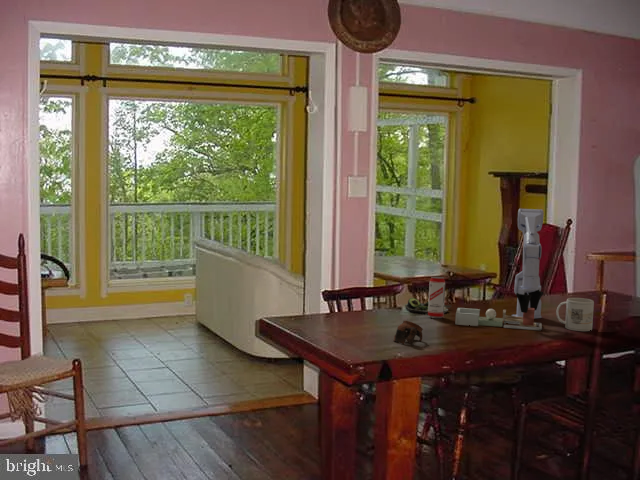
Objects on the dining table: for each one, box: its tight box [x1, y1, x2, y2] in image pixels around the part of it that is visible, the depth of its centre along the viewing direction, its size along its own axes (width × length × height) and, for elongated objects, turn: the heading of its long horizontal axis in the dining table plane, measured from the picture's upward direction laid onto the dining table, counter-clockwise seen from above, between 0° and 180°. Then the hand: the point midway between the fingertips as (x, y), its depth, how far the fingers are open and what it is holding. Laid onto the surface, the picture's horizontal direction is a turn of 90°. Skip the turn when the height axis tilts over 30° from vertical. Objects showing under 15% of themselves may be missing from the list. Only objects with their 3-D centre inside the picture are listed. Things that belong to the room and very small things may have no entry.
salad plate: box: [405, 297, 452, 315], centre depth 322 cm, size 19×18×5 cm
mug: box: [555, 297, 595, 332], centre depth 293 cm, size 10×12×11 cm
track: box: [478, 316, 543, 331], centre depth 295 cm, size 24×9×2 cm, turn 76°
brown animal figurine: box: [393, 320, 424, 345], centre depth 263 cm, size 12×10×8 cm
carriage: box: [502, 308, 537, 327], centre depth 294 cm, size 12×6×7 cm, turn 76°
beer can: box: [427, 276, 446, 319], centre depth 306 cm, size 6×6×16 cm
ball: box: [485, 308, 497, 319], centre depth 296 cm, size 4×4×4 cm
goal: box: [454, 307, 481, 327], centre depth 298 cm, size 8×11×4 cm
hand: (528, 311), depth 292 cm, fingers open, 7 cm apart
